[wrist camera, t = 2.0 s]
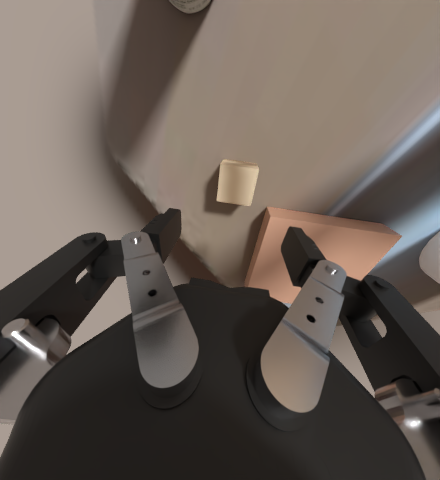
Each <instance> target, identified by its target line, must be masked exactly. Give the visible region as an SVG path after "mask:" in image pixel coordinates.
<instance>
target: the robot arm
mask: <svg viewBox="0 0 440 480" xmlns="http://www.w3.org/2000/svg"><path fill="white" fill-rule="evenodd" d="M180 234H181V211H180V210H179V209H173V208H169V209H168V210H167V211H166V212H165V213H164V214H159V215H157V216H155V218H153V220H152V221H150V222H149V223H148V224H147V225H146V226H145V227H144V228H143V229H142V230H141V231H140V232H131V233H128V234H126V235H125V236H123V237H122V239H121V240H113V241H107V240H106V237H105V235H104V234H102V233H87V234H84V235H81V236H79V237H77V238H75V239H74V240H72V241H71V242H70V243H68V244H67V245H65V246H64V247H62V248H61V249H59V250H58V251H57V252H55V253H54V254H53V255H51V256H49V257H48V258H47V259H45V260H44V261H42V262H41V263H39V264H38V265H37V266H35V267H34V268H32V269H31V270H29V271H28V272H26V273H25V274H23V275H22V276H21V277H19V278H18V279H16V280H15V281H13V282H12V283H10V284H9V285H8V286H6V287H5V288H3V289H2V290H0V423H2V424H14V426H13V429H12V432H11V434H10V437H9V439H8V442H7V444H6V446H5V448H4V450H3V453H2V455H1V457H0V480H440V335H439V334H438V333H437V332H436V331H435V330H434V329H433V328H432V327H431V326H430V324H429V323H428V322H427V321H426V320H425V319H424V318H423V317H422V316H421V315H420V314H419V313H418V312H417V311H416V310H415V309H414V308H413V306H412V305H411V304H410V303H409V302H408V301H407V300H406V299H405V298H404V297H403V296H402V295H401V294H400V293H399V292H398V291H397V289H396V288H395V287H394V286H392V285H391V284H390V283H388V282H387V281H385V280H383V279H381V278H379V277H376V276H372V275H366V276H365V277H364V278H363V279H362V280H361V281H360V280H357V279H354V278H352V277H349V276H347V274H346V271H345V270H344V269H343V268H342V267H341V266H339V265H338V264H336V263H334V262H331V261H328V260H326V258H325V257H324V255H323V254H322V252H321V251H320V250H319V248H318V247H317V246H316V244H315V242H314V241H313V240H312V239H311V238H310V237H308V236H307V235H306V234H305V233H304V231H303V230H302V228H298V227H292V226H290V227H289V228H288V230H287V232H286V235H285V237H284V239H283V242H282V244H281V253H282V256H283V259H284V262H285V265H286V268H287V270H288V273H289V276H290V279H291V282H292V285H293V286H296V287H301V290H300V292H299V293H298V295H297V297H296V298H295V300H294V301H293V303H292V304H291V306H290V308H288V307H287V306H286V305H284V304H283V303H281V302H280V301H278V300H276V299H274V298H272V297H270V293H269V290H266V289H260V288H253V287H239V288H228V287H225V286H223V285H220V284H218V283H215V282H212V281H209V280H203V279H196V278H191V280H190V283H189V284H181V285H178V286H175V287H173V286H172V284H171V281H170V279H169V277H168V275H167V272H166V270H165V267H164V265H163V264H164V262H165V260H166V259H167V257H168V255H169V253H170V252H171V250H172V249H173V247H174V245H175V243H176V242H177V240H178V238H179V237H180ZM85 268H86V269H87V271H88V272H87V273H86V275H84V276H83V277H82V278H81V279H80V280H79V281H78V282H77V283H76V278H77V276H78V275H79V274H80V273H81V272H82V271H83V270H84V269H85ZM118 276H126V280H127V287H128V293H129V298H130V304H131V311H132V313H131V314H129V315H127V316H126V317H124V318H123V319H121V320H120V321H118V322H117V323H115V324H114V325H112V326H110V327H109V328H107V329H106V330H104V331H103V332H101V333H100V334H98V335H96V336H95V337H93V338H92V339H90V340H89V341H87V342H86V343H84V344H82V345H81V346H79V347H78V348H76V349H75V350H73V351H72V352H70V353H69V354H67V352H68V350H69V348H70V346H71V336H72V334H73V333H74V332H75V330H76V329H77V328H78V327H79V325H80V324H81V323H82V321H83V320H84V319H85V317H86V316H87V315H88V314H89V312H90V311H91V310H92V308H93V307H94V306H95V305H96V303H97V302H98V300H99V299H100V298H101V297H102V295H103V294H104V293H105V291H106V290H107V289H108V288H109V286H110V285H111V284H112V282H113V281H114V280H115V279H116V277H118ZM376 314H378V316H379V317H380V319H381V320H382V321H383V323H384V324H385V326H386V329H387V333H386V335H385V337H383V338H382V337H381V335H380V334H379V332H378V330H377V329H376V327H375V326H374V324H373V323H372V321H371V320H370V319H371V318H373V317H374V316H375V315H376ZM338 317H339V319H340V321H341V323H342V325H343V327H344V329H345V331H346V333H347V335H348V337H349V339H350V341H351V343H352V346H353V347H354V350H355V351H356V354H357V356H358V358H359V360H360V362H361V364H362V366H363V368H364V370H365V373H366V374H367V377H368V379H369V381H370V383H371V385H372V387H373V389H374V391H375V398H374V397H373V396H372V395H371V394H370V393H369V392H368V391H367V390H366V389H365V387H364V386H363V385H362V384H361V383H360V382H359V381H358V380H357V379H356V378H355V377H354V376H353V375H352V374H351V373H350V372H349V371H348V370H347V369H346V368H345V367H344V365H342V363H341V362H340V361H339V360H338V359H337V358H336V357H335V356H334V355H333V354H332V353H331V352H330V351H329V347H330V344H331V341H332V337H333V334H334V331H335V327H336V324H337V321H338ZM66 354H67V355H66Z"/></svg>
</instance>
